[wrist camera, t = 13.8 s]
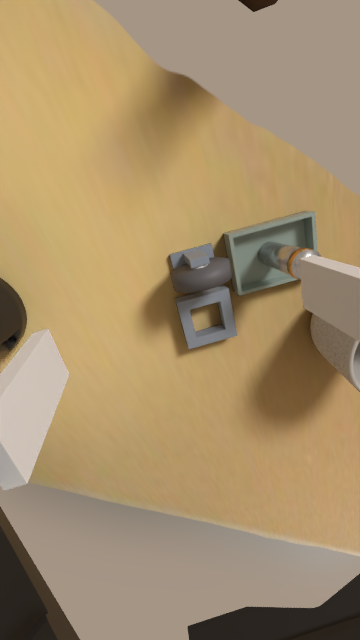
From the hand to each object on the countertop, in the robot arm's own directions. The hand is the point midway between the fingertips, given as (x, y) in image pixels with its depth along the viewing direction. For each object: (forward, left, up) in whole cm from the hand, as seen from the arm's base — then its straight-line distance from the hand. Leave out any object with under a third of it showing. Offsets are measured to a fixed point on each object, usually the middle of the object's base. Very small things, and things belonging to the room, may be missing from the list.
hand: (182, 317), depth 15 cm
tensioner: (+6, -11, -35) cm, 37 cm away
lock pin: (+19, -7, -34) cm, 40 cm away
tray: (+19, -7, -35) cm, 40 cm away
